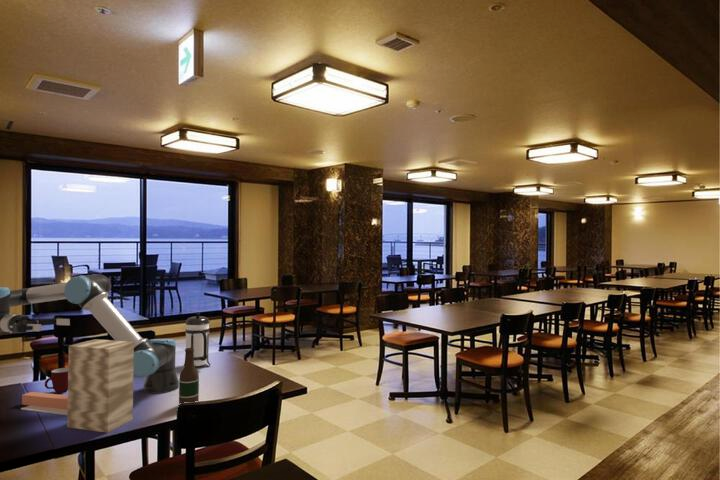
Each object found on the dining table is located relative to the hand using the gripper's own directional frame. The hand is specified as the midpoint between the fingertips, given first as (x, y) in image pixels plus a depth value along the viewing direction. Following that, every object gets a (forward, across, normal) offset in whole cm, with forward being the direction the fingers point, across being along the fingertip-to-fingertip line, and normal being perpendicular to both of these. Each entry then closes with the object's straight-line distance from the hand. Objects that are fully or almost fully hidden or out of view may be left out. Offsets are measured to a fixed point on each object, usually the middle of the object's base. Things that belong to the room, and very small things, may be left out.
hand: (55, 324), depth 189 cm
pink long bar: (+5, +5, -33) cm, 33 cm away
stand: (+36, +14, -34) cm, 51 cm away
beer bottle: (+57, -11, -35) cm, 67 cm away
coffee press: (+26, -64, -34) cm, 77 cm away
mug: (-9, -10, -33) cm, 35 cm away
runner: (+9, +5, -33) cm, 35 cm away
